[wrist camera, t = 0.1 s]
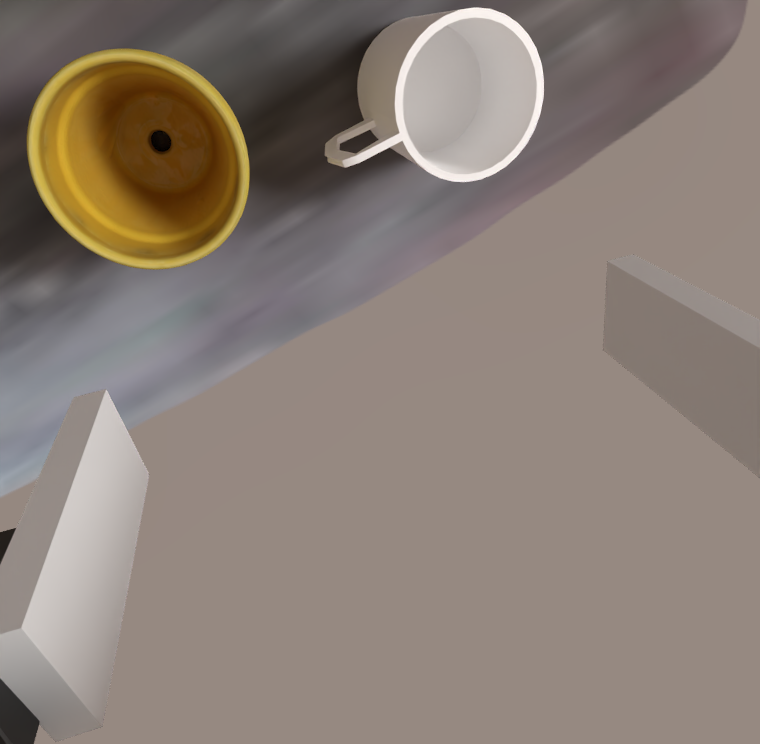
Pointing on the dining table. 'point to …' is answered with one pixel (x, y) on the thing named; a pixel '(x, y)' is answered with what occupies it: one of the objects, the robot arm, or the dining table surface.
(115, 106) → the plant pot
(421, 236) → the dining table surface
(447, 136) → the cup
